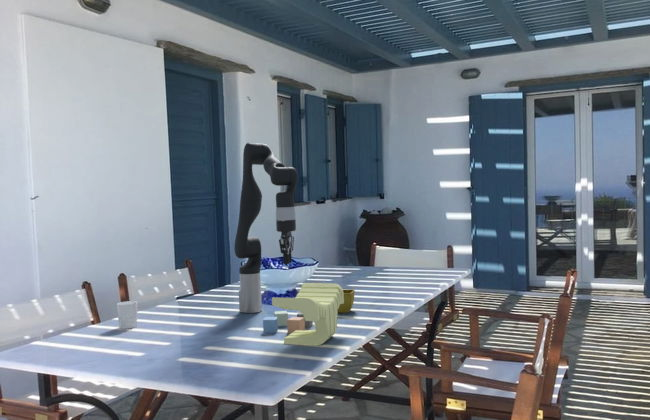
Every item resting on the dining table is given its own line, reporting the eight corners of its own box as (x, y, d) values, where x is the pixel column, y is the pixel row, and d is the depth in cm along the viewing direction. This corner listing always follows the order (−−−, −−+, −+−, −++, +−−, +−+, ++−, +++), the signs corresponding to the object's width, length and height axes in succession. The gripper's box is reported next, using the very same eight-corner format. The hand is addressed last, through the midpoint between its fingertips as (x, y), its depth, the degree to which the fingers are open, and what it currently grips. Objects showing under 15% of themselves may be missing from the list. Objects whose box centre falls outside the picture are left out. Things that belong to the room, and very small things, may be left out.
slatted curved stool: (319, 352, 194) (316, 298, 194) (274, 350, 199) (271, 297, 199) (345, 330, 223) (343, 283, 222) (305, 329, 228) (303, 282, 227)
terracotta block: (287, 333, 223) (287, 319, 223) (292, 329, 228) (292, 316, 228) (299, 333, 221) (299, 320, 221) (304, 330, 226) (304, 317, 226)
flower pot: (352, 314, 252) (351, 292, 252) (332, 313, 254) (331, 292, 254) (355, 309, 261) (354, 289, 260) (335, 309, 262) (335, 289, 262)
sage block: (275, 326, 234) (275, 314, 234) (274, 323, 239) (274, 311, 239) (288, 325, 235) (287, 313, 235) (287, 323, 240) (286, 310, 240)
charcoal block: (297, 327, 232) (296, 314, 232) (300, 324, 237) (300, 311, 237) (309, 327, 231) (309, 314, 231) (312, 324, 236) (312, 311, 236)
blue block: (263, 333, 224) (262, 320, 224) (265, 330, 229) (264, 317, 229) (276, 332, 224) (276, 319, 224) (278, 329, 229) (277, 316, 229)
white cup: (119, 330, 238) (118, 305, 237) (116, 326, 245) (115, 302, 244) (139, 327, 241) (138, 303, 241) (136, 324, 248) (135, 300, 248)
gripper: (281, 218, 237) (283, 261, 238) (271, 220, 224) (273, 266, 224) (299, 217, 236) (301, 261, 236) (290, 219, 222) (292, 265, 223)
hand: (287, 263), depth 230 cm, fingers open, 3 cm apart
